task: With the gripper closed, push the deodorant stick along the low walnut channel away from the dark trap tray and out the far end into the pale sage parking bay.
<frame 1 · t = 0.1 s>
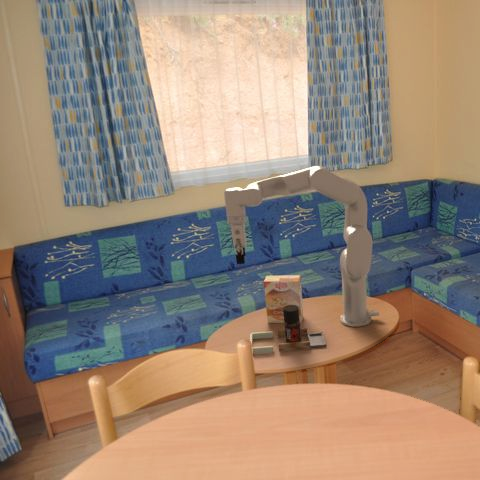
hand: (241, 259, 188), 31 cm above the table, tool pointing down, fingers open, 9 cm apart
trap tray: (316, 341, 180), on the table
channel: (293, 342, 181), on the table
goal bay: (263, 345, 182), on the table
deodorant: (293, 343, 181), on the table
coffeecake box: (285, 320, 201), on the table
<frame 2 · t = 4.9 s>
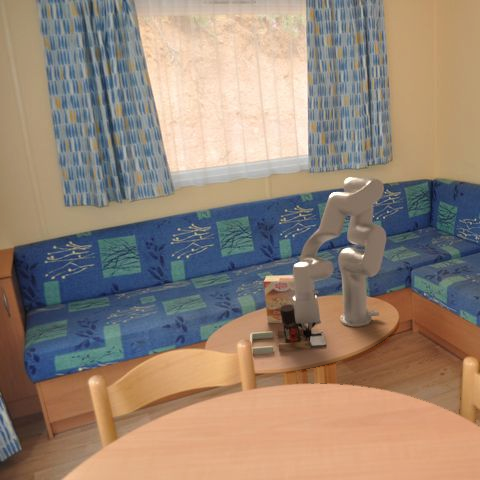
hand: (307, 337, 180), 2 cm above the table, tool pointing down, fingers closed
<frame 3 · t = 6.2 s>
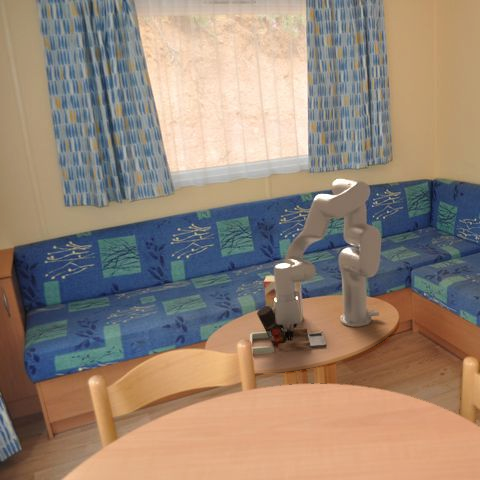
hand: (289, 338, 181), 2 cm above the table, tool pointing down, fingers closed
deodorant: (279, 342, 181), point 1 cm above the table, touching gripper
everything else where it was.
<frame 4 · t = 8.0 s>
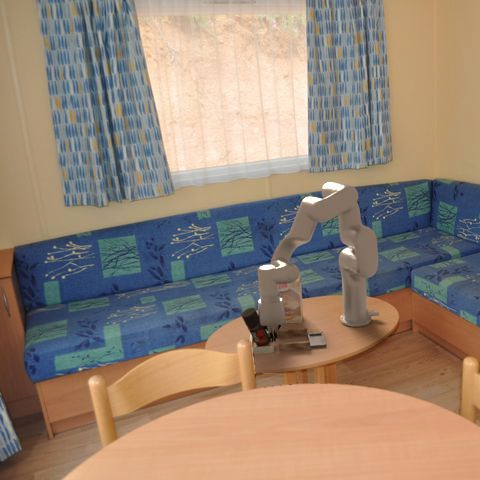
hand: (273, 340, 181), 2 cm above the table, tool pointing down, fingers closed
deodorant: (264, 343, 182), point 1 cm above the table, touching gripper
everything else where it was.
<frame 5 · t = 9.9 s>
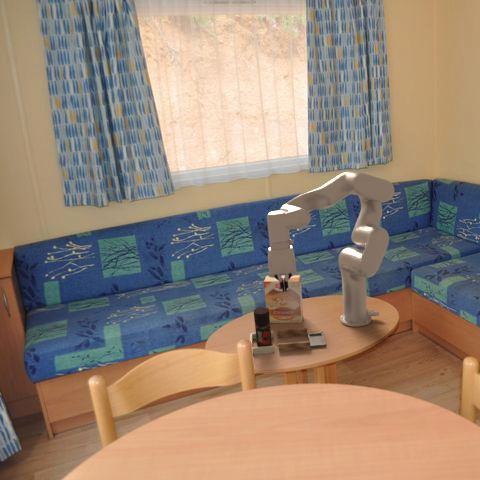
hand: (284, 290, 175), 22 cm above the table, tool pointing down, fingers closed
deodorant: (264, 345, 182), on the table
everything else where it was.
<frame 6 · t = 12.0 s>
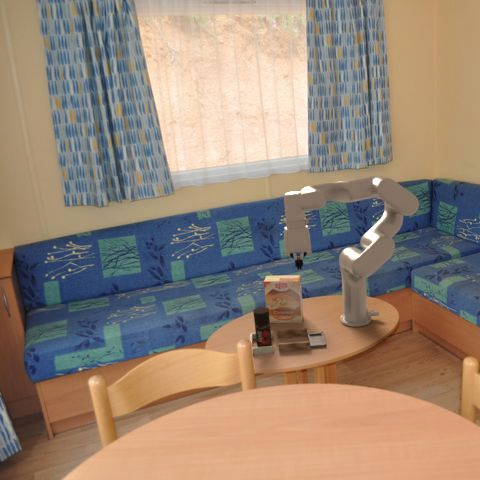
hand: (299, 268, 183), 27 cm above the table, tool pointing down, fingers closed
nothing on the table moved.
at the end: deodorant inside the target area (0.9 cm from its centre), on the table; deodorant tilted 0°; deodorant moved 11.4 cm from its start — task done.
